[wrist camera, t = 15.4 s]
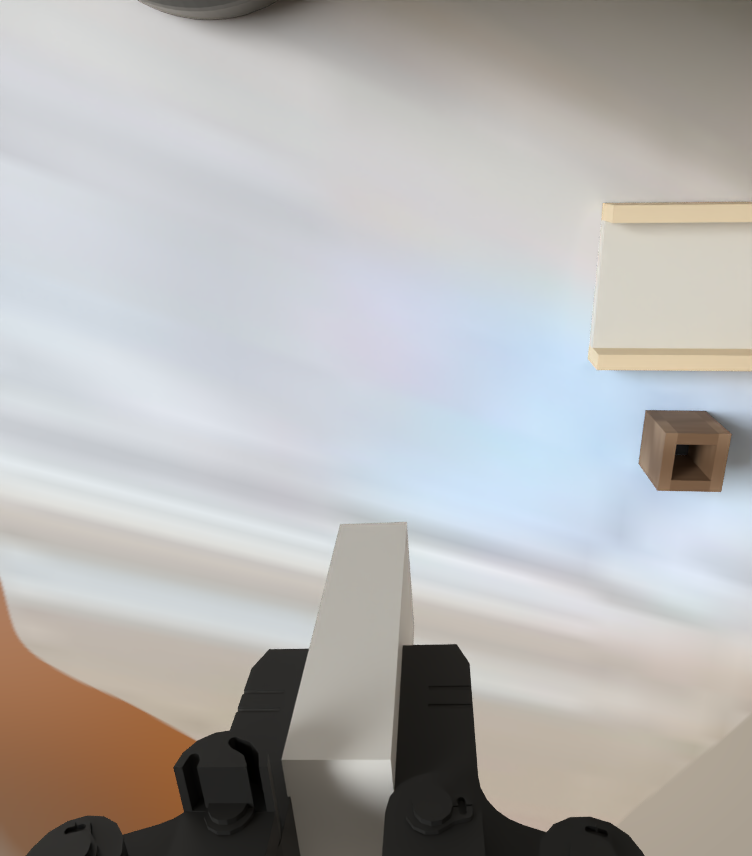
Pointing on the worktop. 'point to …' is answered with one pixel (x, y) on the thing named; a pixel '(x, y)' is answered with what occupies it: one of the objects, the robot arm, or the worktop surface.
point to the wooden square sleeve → (704, 450)
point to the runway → (673, 287)
